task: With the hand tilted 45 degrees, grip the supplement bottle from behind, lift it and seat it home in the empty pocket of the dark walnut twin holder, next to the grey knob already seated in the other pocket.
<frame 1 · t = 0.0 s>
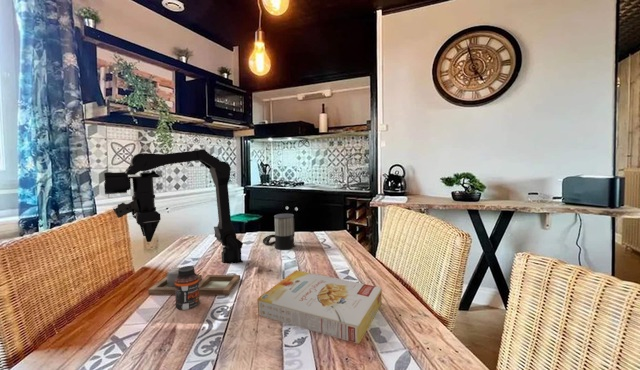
hand: (146, 238, 96), 15 cm above the table, tool pointing down, fingers open, 9 cm apart
walnut twin holder: (217, 289, 91), on the table
cereal box: (322, 311, 79), on the table
milk frother: (278, 246, 136), on the table
seated grey knob: (176, 285, 91), resting on walnut twin holder
supplement bottle: (188, 308, 80), on the table
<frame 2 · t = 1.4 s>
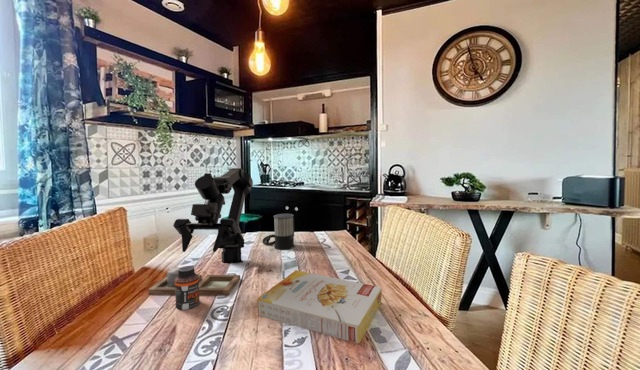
hand: (198, 251, 86), 13 cm above the table, tool tilted 45°, fingers open, 9 cm apart
nothing on the table moved.
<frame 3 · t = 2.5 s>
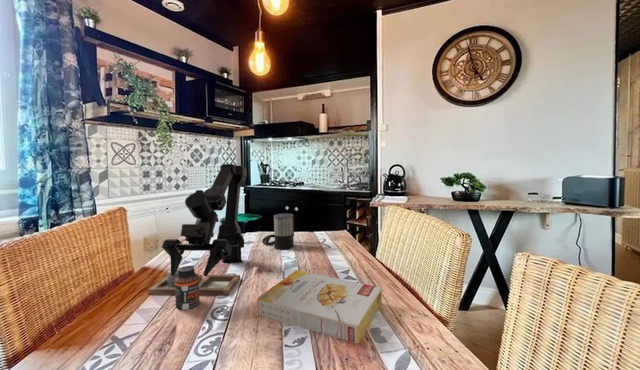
hand: (188, 275, 80), 9 cm above the table, tool tilted 45°, fingers open, 9 cm apart
nothing on the table moved.
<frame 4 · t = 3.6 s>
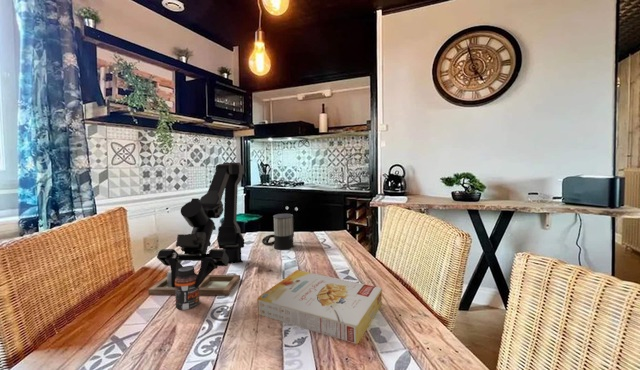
hand: (184, 287, 78), 7 cm above the table, tool tilted 45°, fingers closed on supplement bottle, 6 cm apart
supplement bottle: (188, 308, 80), on the table, touching gripper
everything else where it was.
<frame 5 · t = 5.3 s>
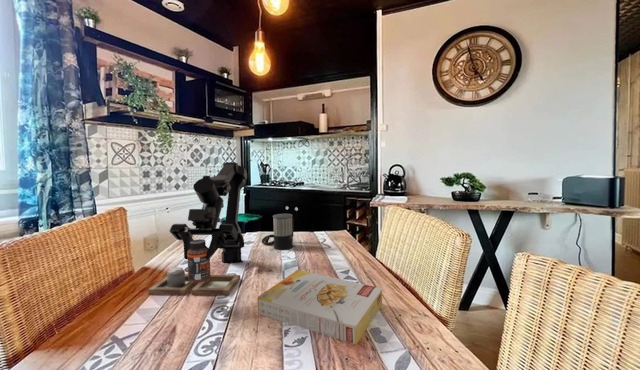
hand: (196, 258, 82), 13 cm above the table, tool tilted 45°, fingers closed on supplement bottle, 6 cm apart
supplement bottle: (200, 279, 84), point 6 cm above the table, touching gripper
everything else where it was.
when the fingers open (9 cm above the table, at t = 7.3 s): supplement bottle drops 1 cm, resting on walnut twin holder.
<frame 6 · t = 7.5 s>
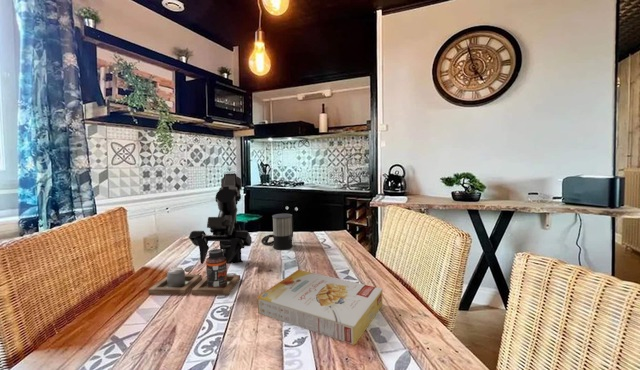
hand: (214, 263, 89), 9 cm above the table, tool tilted 45°, fingers open, 8 cm apart
supplement bottle: (217, 286, 91), point 1 cm above the table, touching walnut twin holder
everything else where it was.
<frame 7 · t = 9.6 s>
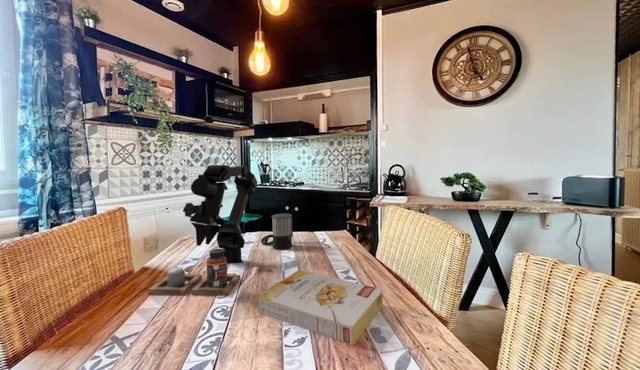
hand: (202, 244, 99), 12 cm above the table, tool tilted 20°, fingers open, 9 cm apart
nothing on the table moved.
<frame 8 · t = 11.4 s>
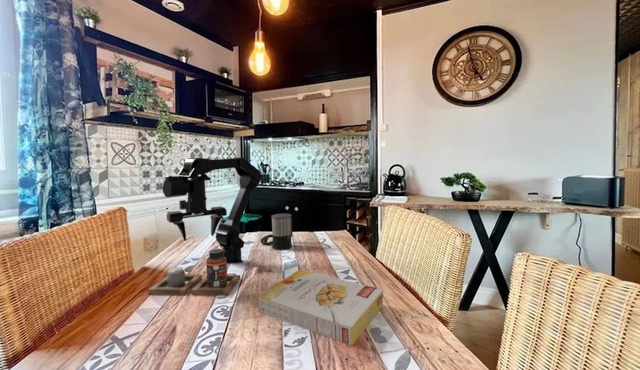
hand: (199, 238, 102), 13 cm above the table, tool pointing down, fingers open, 9 cm apart
at the end: supplement bottle 0.2 cm from the walnut twin holder (horizontally); supplement bottle tilted 0°; the gripper is holding nothing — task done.
